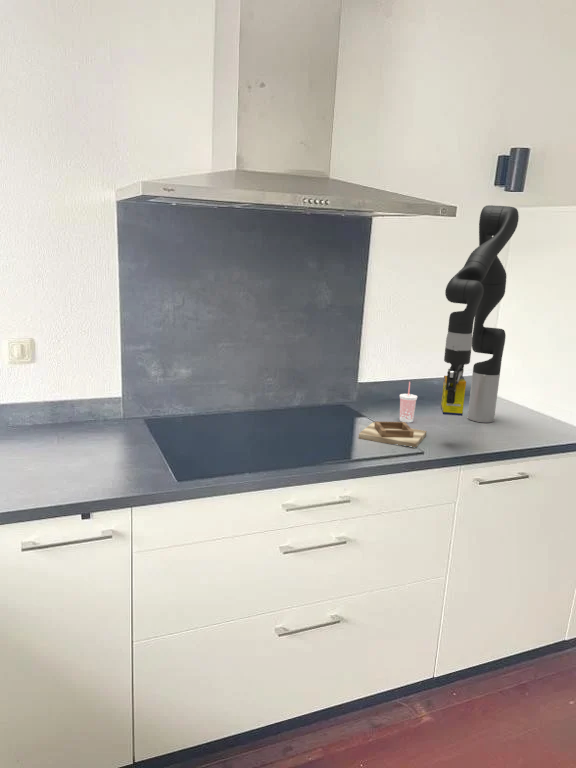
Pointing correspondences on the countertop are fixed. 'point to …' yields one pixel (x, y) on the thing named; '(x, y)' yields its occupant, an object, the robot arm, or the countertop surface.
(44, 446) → the countertop surface
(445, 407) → the supplement box
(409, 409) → the beverage cup
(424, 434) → the socket board
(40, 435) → the countertop surface
